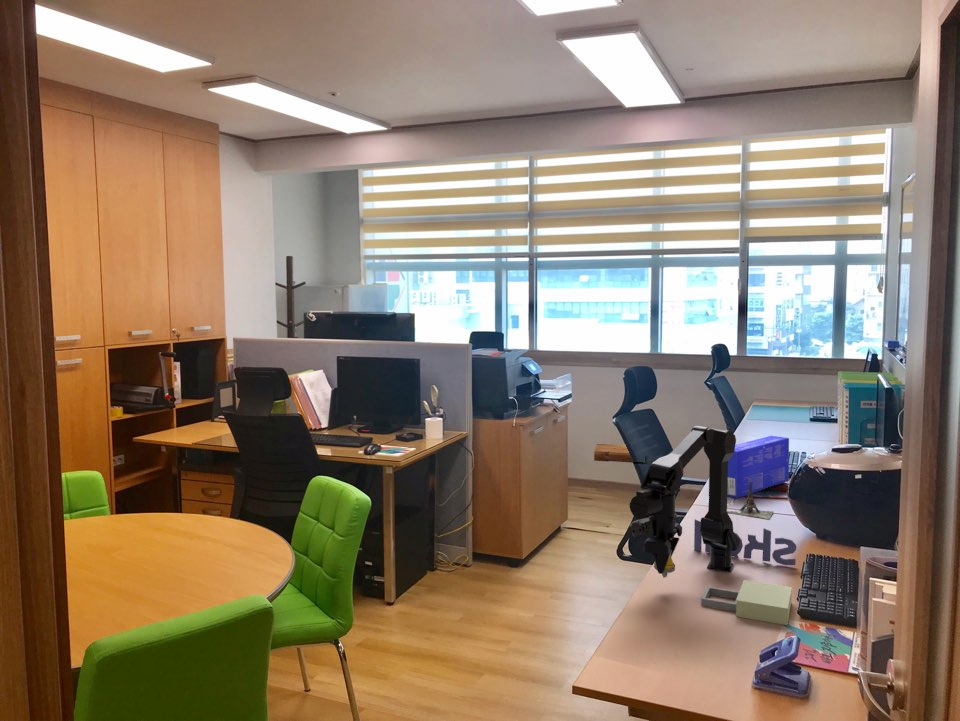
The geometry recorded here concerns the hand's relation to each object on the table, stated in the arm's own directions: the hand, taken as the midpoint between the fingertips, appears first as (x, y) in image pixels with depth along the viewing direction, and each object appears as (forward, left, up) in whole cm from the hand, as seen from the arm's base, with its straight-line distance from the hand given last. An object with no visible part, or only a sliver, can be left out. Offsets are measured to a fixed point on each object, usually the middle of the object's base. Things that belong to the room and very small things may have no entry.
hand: (662, 569), depth 194 cm
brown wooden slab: (-147, -52, -6) cm, 156 cm away
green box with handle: (+1, +15, -6) cm, 16 cm away
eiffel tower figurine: (-84, +12, -7) cm, 85 cm away
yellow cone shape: (0, 0, -3) cm, 3 cm away
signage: (-34, +16, -6) cm, 38 cm away
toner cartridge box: (-119, +10, -6) cm, 120 cm away
